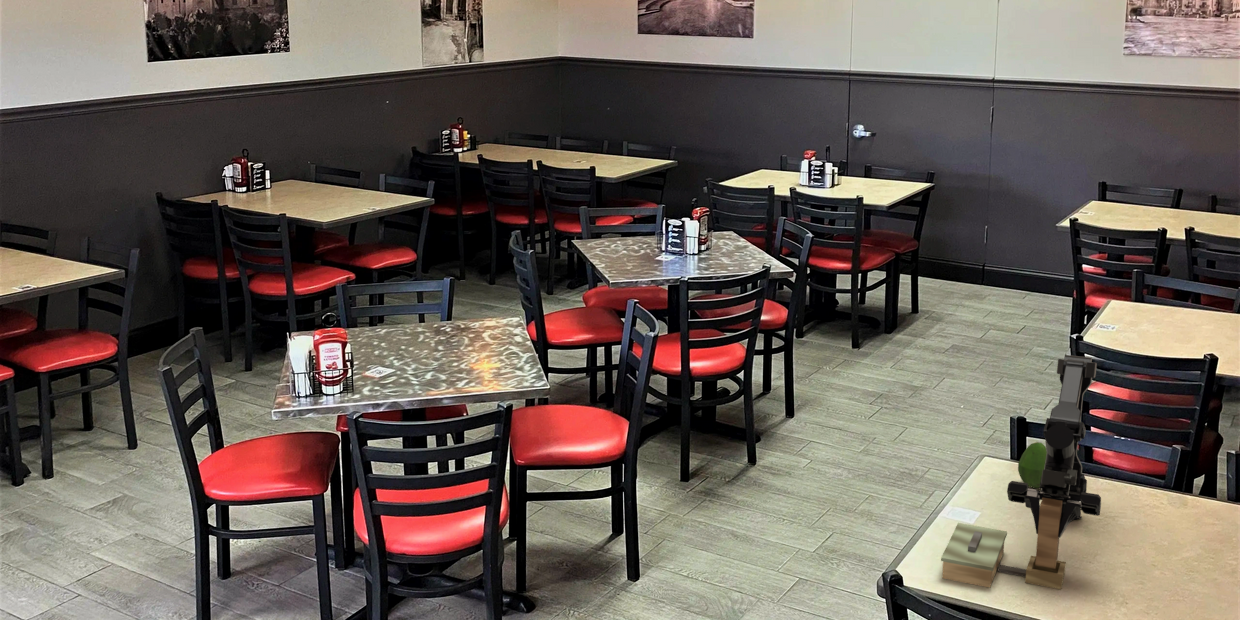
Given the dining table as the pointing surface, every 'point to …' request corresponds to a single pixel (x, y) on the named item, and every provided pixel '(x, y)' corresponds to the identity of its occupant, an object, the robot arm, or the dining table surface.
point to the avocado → (1032, 464)
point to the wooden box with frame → (990, 559)
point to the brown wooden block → (1048, 532)
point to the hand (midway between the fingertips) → (1048, 535)
